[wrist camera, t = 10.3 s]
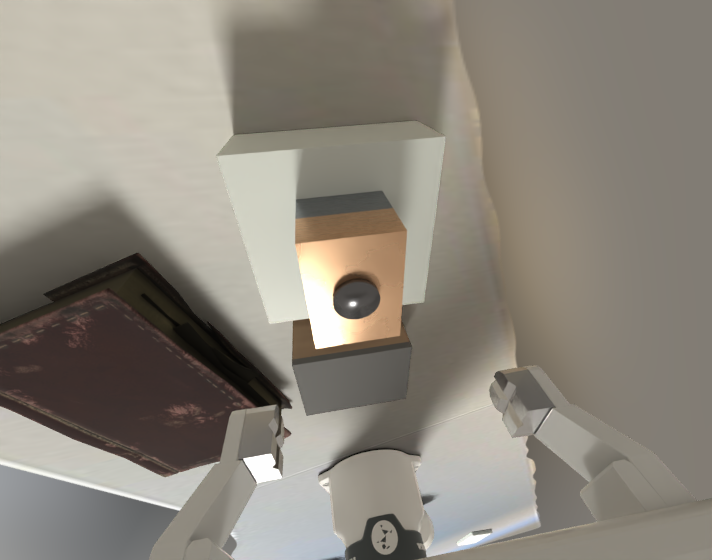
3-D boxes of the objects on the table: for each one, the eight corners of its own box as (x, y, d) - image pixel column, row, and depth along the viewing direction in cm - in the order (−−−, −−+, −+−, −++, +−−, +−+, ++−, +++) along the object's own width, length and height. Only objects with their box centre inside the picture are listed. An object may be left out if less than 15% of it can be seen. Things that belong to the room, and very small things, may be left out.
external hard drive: (490, 527, 105) (474, 537, 112) (470, 529, 102) (455, 540, 109) (492, 532, 103) (476, 543, 110) (472, 535, 101) (457, 546, 108)
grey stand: (405, 266, 27) (424, 302, 23) (273, 283, 26) (269, 323, 22) (416, 120, 20) (446, 136, 16) (233, 135, 19) (216, 156, 15)
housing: (382, 190, 17) (409, 235, 13) (381, 284, 21) (401, 341, 17) (295, 199, 17) (294, 248, 12) (312, 293, 21) (316, 354, 17)
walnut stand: (391, 351, 34) (406, 398, 30) (305, 364, 33) (306, 415, 29) (393, 300, 29) (411, 346, 25) (293, 314, 28) (292, 365, 24)
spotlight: (396, 521, 74) (410, 560, 67) (381, 499, 69) (394, 539, 62) (424, 505, 75) (441, 542, 67) (411, 482, 70) (428, 519, 62)
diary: (173, 439, 40) (158, 482, 36) (-42, 325, 25) (-108, 377, 21) (298, 397, 38) (297, 437, 34) (149, 245, 23) (116, 286, 19)
